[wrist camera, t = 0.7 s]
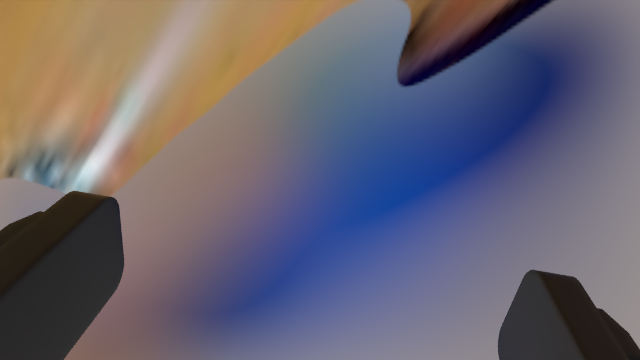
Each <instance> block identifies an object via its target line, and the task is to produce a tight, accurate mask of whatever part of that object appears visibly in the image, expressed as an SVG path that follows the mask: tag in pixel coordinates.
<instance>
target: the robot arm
mask: <svg viewBox="0 0 640 360" xmlns="http://www.w3.org/2000/svg"><path fill="white" fill-rule="evenodd" d="M122 244H123V243H122V233H121V221H120V210H119V205H118V202H117V200H116V199H115V198H113V197H108V196H102V195H96V194H90V193H84V192H78V191H72V192H69V193H68V194H66V195H65V196H64V197H62V198H61V199H60V200H59V201H57V202H56V203H55V204H54V205H52V206H51V207H50V208H49V209H47V210H46V211H45V212H37V213H34V214H32V215H30V216H28V217H25V218H23V219H21V220H18V221H16V222H14V223H11V224H9V225H8V226H6V227H5V228H3V229H2V230H1V231H0V360H64V358H65V357H66V356H67V354H68V353H69V352H70V350H71V349H72V348H73V346H74V345H75V344H76V342H77V341H78V340H79V338H80V337H81V336H82V334H83V333H84V331H85V330H86V329H87V327H88V326H89V325H90V324H91V323H92V321H93V320H94V319H95V317H96V316H97V315H98V313H99V312H100V311H101V309H102V308H103V307H104V305H105V304H106V303H107V301H108V300H109V298H110V297H111V296H112V294H113V293H114V292H115V290H116V289H117V287H118V285H119V283H120V280H121V277H122V273H123V268H124V254H123V245H122ZM498 354H499V360H640V349H639V348H638V346H637V345H636V343H635V342H634V340H633V339H632V337H631V336H630V334H629V333H628V332H627V331H626V330H624V328H622V327H621V326H620V325H619V324H618V323H617V322H616V321H615V320H614V319H612V318H611V317H610V316H609V315H608V314H607V313H606V312H605V311H604V310H602V309H598V308H596V307H595V305H594V304H593V302H592V300H591V299H590V297H589V296H588V294H587V293H586V291H585V289H584V288H583V286H582V285H581V283H580V282H579V281H578V280H577V279H576V278H575V277H572V276H566V275H560V274H554V273H548V272H542V271H536V270H530V271H529V272H527V273H526V274H525V276H524V278H523V280H522V282H521V284H520V286H519V289H518V291H517V293H516V295H515V297H514V300H513V302H512V304H511V306H510V308H509V311H508V313H507V315H506V317H505V320H504V322H503V324H502V327H501V329H500V333H499V339H498Z"/></svg>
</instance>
